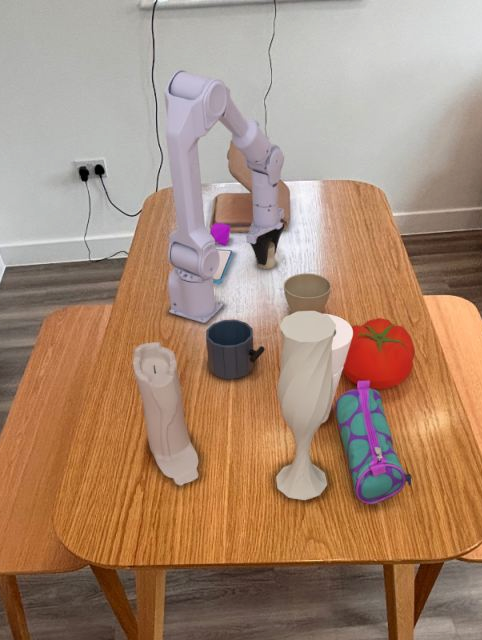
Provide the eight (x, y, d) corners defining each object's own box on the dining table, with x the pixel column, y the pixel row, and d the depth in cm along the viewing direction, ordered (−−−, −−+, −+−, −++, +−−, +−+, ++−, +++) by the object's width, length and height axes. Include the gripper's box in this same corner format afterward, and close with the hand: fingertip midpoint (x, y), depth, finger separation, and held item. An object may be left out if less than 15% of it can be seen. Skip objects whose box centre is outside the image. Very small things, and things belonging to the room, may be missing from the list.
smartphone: (233, 250, 157) (221, 280, 147) (233, 254, 158) (221, 285, 148) (203, 248, 158) (189, 278, 148) (203, 253, 159) (190, 283, 149)
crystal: (228, 235, 164) (227, 217, 160) (232, 245, 161) (231, 227, 157) (208, 238, 163) (206, 220, 160) (212, 248, 160) (210, 230, 156)
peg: (255, 266, 153) (254, 246, 150) (263, 259, 156) (262, 239, 152) (269, 270, 152) (269, 250, 148) (277, 263, 154) (277, 243, 151)
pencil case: (406, 505, 103) (416, 463, 96) (352, 510, 103) (357, 468, 96) (378, 420, 117) (385, 377, 110) (330, 424, 117) (334, 382, 109)
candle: (169, 489, 107) (151, 396, 92) (145, 438, 115) (124, 344, 100) (209, 476, 109) (198, 382, 94) (182, 427, 117) (168, 333, 102)
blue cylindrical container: (200, 371, 127) (197, 339, 122) (223, 347, 132) (221, 315, 127) (249, 387, 124) (247, 354, 118) (271, 361, 129) (270, 329, 123)
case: (290, 233, 164) (291, 167, 152) (208, 234, 165) (203, 168, 152) (290, 198, 177) (291, 134, 165) (214, 198, 178) (210, 135, 166)
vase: (274, 464, 110) (273, 310, 87) (322, 460, 111) (333, 305, 88) (279, 502, 105) (280, 347, 82) (330, 498, 105) (344, 343, 82)
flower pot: (326, 330, 136) (328, 299, 130) (279, 325, 137) (279, 295, 132) (332, 304, 142) (334, 274, 137) (287, 300, 144) (287, 271, 138)
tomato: (348, 406, 120) (353, 362, 112) (328, 354, 130) (331, 311, 123) (422, 397, 121) (431, 353, 113) (396, 346, 131) (403, 303, 124)
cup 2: (278, 427, 116) (279, 344, 103) (296, 392, 123) (299, 308, 109) (335, 440, 114) (343, 356, 100) (350, 403, 120) (360, 319, 106)
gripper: (265, 218, 137) (266, 277, 147) (296, 192, 145) (294, 249, 156) (237, 212, 139) (240, 270, 150) (268, 186, 148) (269, 243, 158)
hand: (266, 259), depth 153 cm, fingers closed on peg, 4 cm apart
